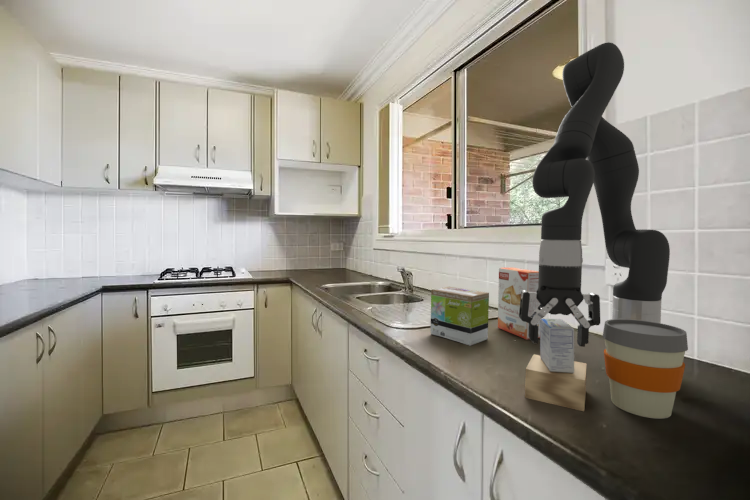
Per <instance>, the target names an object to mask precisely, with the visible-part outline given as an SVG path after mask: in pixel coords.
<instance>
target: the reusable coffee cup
mask: <svg viewBox="0 0 750 500" xmlns="http://www.w3.org/2000/svg"><path fill="white" fill-rule="evenodd" d="M603 325H604V326H603V331H602V332H603V333H602V337H603V339H604V344H605V349H603V358H604V365H605V373H606V376H607V377H608V379H609V380H608V381H609V391H610V400H611V402H612V404H613V405H615V406H616V407H617V408H619V409H621V410H623V411H624V412H627V413H630V414H633V415H635V416H639V417H643V418H650V419H668V418H670V417H671V416H672V413H673V408H674V404H675V401H676V400H675V399H676V395H677V392H679V391H680V390H681V387H682V382H683V378H684V373H685V369H686V363H685V362H684V357H685V354H686V352H687V351H688V350H689V345H688V335H687V333H688V332H687V331H686V330H684V329H682V328H679V327H677V326H674V325H673V326H672V325H670V324H666V323H656V322H650V321H642V320H631V319H612V318H611V319H607V320H605V321H604V324H603Z"/></svg>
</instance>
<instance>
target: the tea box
mask: <svg viewBox="0 0 750 500" xmlns="http://www.w3.org/2000/svg"><path fill="white" fill-rule="evenodd" d="M489 303H490V292H485V291H480V290H475V289H467V288H461V287H455V286H444V287H441V288H435V289H430V335H433V336H436V337H441V338H445V339H448V340H450V341H454V342H458V343H461V344H463V345H467V346H470V347H471V346H474V345H476V344H479V343H481V342H484V341H486V340H488V339H489V337H488V336H489V314H490V313H489V312H490V311H489V310H490V309H489V308H490V306H489V305H490V304H489Z"/></svg>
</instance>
